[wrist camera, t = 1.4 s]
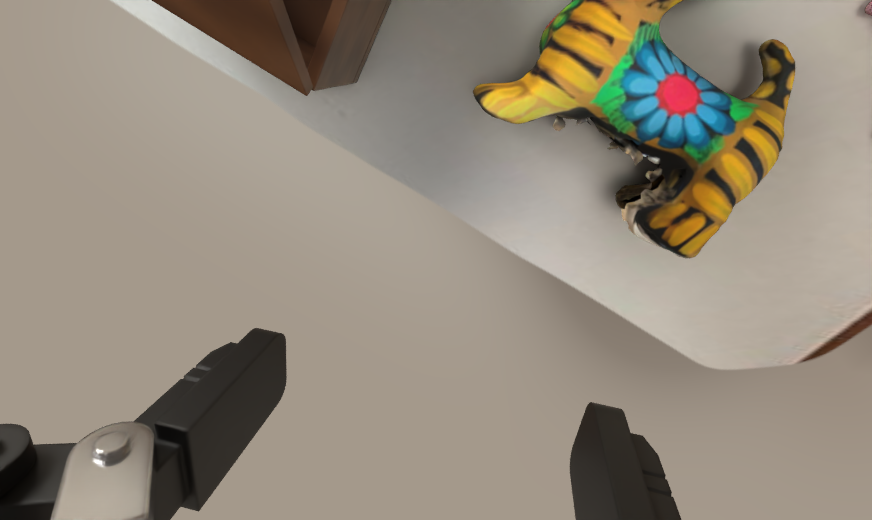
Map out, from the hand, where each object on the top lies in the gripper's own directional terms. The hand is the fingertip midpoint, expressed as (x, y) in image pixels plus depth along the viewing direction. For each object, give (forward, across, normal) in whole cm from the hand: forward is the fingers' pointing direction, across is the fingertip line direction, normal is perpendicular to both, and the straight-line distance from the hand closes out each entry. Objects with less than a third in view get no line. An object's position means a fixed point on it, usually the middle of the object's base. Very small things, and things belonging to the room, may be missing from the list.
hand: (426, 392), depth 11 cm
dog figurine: (+28, -9, -9) cm, 30 cm away
